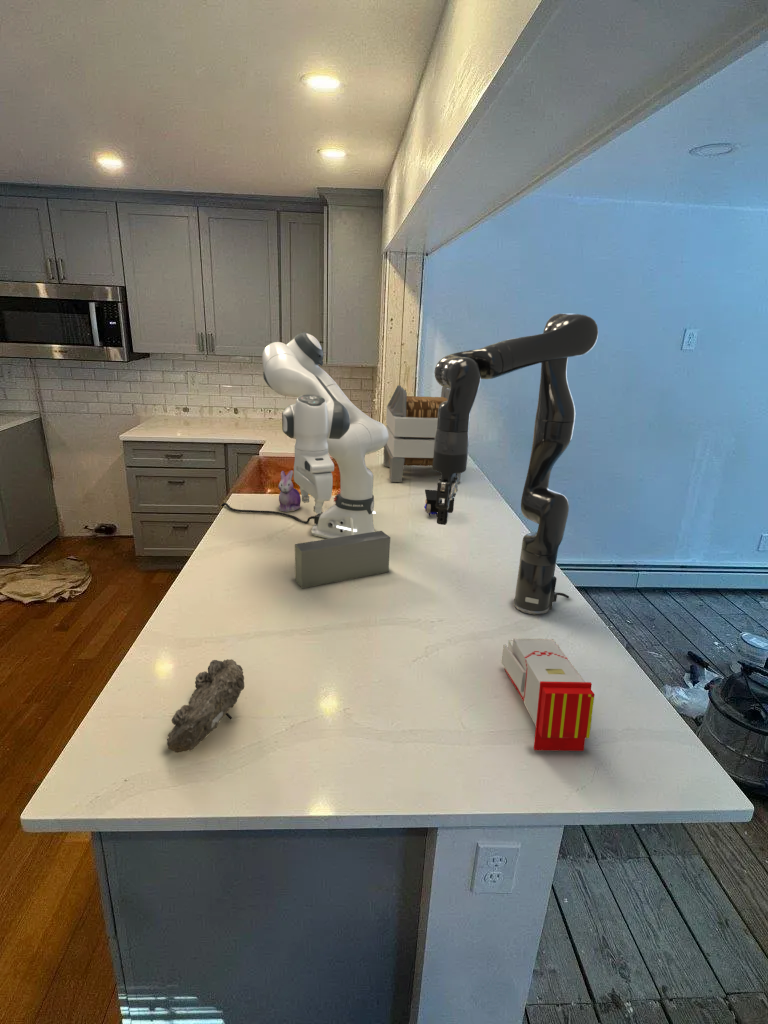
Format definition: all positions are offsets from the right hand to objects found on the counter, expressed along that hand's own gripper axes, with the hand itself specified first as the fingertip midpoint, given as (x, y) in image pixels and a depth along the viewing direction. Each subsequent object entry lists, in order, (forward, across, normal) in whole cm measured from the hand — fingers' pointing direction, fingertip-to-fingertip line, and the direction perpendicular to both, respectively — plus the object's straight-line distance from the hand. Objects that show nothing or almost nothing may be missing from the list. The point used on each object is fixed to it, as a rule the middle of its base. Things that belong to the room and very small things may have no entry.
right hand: (445, 517), depth 131 cm
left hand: (+7, +13, +39) cm, 42 cm away
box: (+30, +20, +32) cm, 48 cm away
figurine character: (+30, +84, +18) cm, 91 cm away
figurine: (+30, +68, +71) cm, 102 cm away
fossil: (+30, -46, +34) cm, 64 cm away
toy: (+30, -20, -25) cm, 44 cm away
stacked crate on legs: (+30, +138, +35) cm, 146 cm away
